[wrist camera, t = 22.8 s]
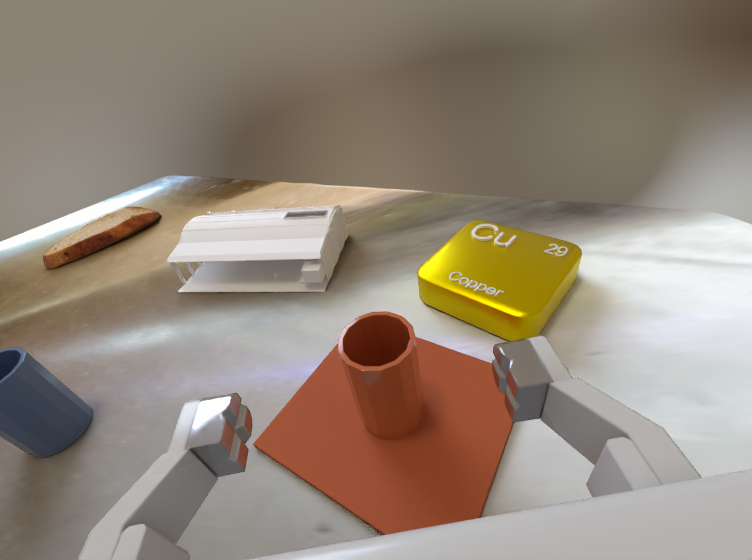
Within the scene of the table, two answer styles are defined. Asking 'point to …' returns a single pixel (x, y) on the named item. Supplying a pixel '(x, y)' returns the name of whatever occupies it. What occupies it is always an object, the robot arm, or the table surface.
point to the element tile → (500, 278)
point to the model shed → (261, 250)
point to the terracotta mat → (398, 444)
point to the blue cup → (37, 406)
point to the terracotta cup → (383, 373)
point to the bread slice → (99, 235)
